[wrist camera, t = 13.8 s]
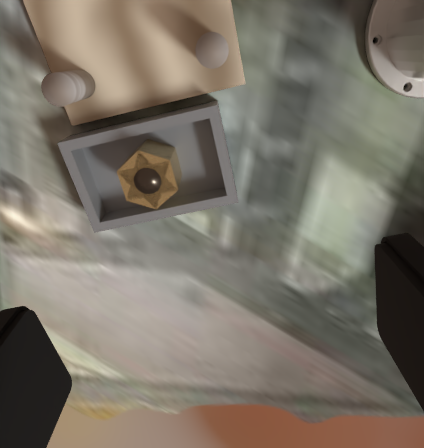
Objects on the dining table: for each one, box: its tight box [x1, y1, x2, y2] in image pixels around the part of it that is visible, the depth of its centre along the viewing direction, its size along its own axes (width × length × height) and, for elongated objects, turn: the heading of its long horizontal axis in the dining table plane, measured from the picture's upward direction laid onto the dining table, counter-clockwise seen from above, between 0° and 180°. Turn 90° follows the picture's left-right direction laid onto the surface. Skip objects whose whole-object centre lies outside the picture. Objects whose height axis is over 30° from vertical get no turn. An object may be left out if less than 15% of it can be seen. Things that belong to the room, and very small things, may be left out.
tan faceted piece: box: [117, 139, 182, 209], centre depth 36 cm, size 5×6×5 cm
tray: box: [57, 101, 238, 232], centre depth 37 cm, size 16×10×4 cm, turn 103°
